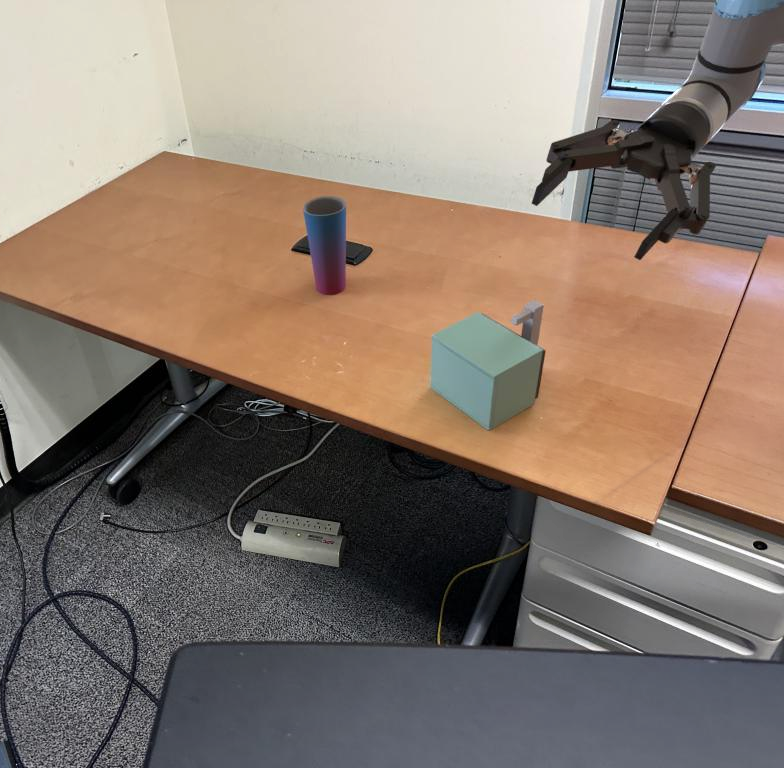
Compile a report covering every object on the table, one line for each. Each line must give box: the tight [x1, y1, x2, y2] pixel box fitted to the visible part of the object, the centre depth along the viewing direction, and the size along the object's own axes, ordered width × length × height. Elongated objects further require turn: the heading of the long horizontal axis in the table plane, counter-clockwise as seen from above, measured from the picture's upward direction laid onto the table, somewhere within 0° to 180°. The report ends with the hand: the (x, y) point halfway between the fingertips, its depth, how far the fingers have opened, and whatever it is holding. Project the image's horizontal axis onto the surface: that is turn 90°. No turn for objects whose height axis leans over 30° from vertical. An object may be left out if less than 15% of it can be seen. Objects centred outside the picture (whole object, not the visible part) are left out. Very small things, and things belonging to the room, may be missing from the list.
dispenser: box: [429, 311, 543, 431], centre depth 89 cm, size 8×11×9 cm
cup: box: [302, 195, 347, 296], centre depth 112 cm, size 7×7×15 cm
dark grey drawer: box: [480, 299, 547, 400], centre depth 89 cm, size 12×11×10 cm
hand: (586, 222), depth 80 cm, fingers open, 13 cm apart
